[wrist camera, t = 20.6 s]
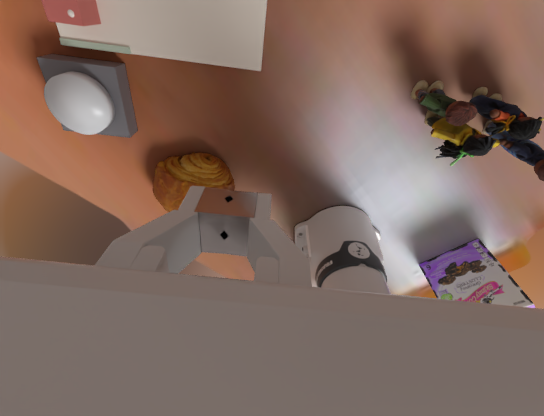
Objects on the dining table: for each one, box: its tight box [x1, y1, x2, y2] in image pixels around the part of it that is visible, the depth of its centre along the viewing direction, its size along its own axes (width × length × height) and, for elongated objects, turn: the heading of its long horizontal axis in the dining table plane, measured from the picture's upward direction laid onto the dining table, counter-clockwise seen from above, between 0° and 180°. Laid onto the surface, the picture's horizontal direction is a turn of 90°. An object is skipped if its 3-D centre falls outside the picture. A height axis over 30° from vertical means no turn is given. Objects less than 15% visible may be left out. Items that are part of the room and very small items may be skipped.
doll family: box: [411, 80, 544, 181], centre depth 37 cm, size 23×9×13 cm, turn 85°
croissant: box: [153, 152, 235, 212], centre depth 48 cm, size 14×16×8 cm
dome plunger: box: [44, 71, 115, 135], centre depth 38 cm, size 8×8×4 cm
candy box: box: [419, 239, 535, 308], centre depth 57 cm, size 14×6×16 cm, turn 131°
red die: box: [42, 0, 101, 26], centre depth 32 cm, size 4×4×4 cm
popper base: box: [37, 54, 138, 138], centre depth 40 cm, size 10×10×3 cm
